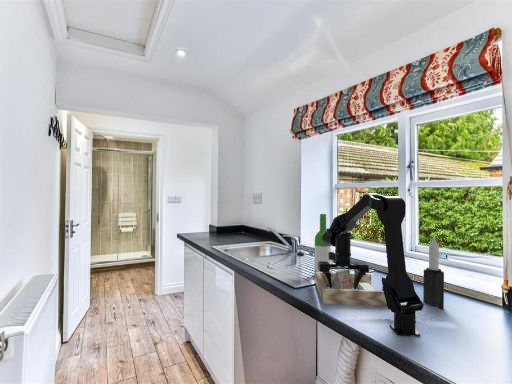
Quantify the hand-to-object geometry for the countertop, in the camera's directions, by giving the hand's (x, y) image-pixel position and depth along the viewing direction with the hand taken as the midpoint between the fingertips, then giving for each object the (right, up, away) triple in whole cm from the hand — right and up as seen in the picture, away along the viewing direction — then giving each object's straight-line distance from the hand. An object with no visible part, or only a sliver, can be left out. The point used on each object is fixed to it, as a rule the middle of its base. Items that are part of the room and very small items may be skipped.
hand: (342, 288), depth 114 cm
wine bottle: (-2, -3, +23) cm, 24 cm away
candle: (+29, -3, -10) cm, 31 cm away
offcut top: (+10, -2, -1) cm, 10 cm away
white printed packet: (0, -3, 0) cm, 3 cm away
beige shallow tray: (+3, -3, 0) cm, 4 cm away
